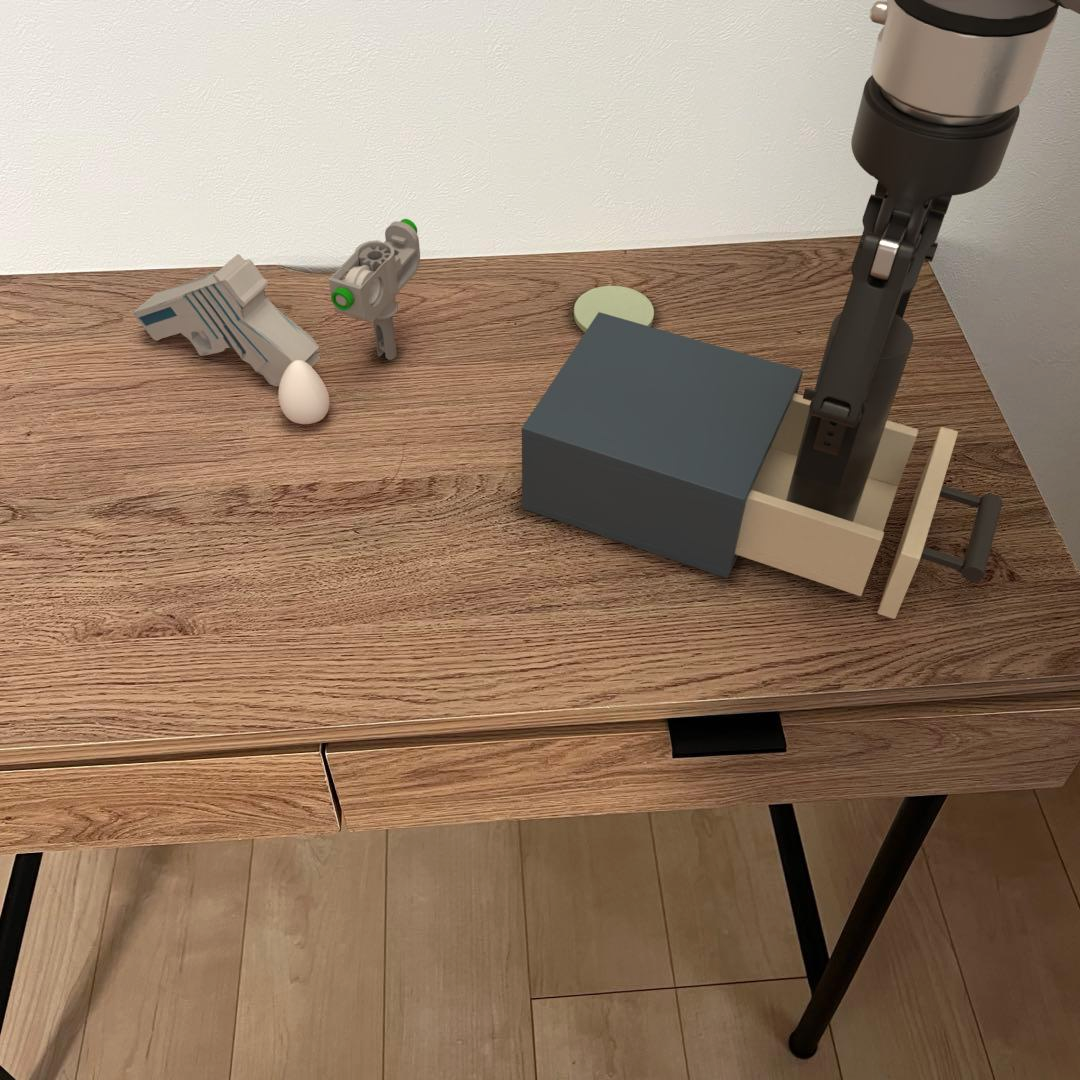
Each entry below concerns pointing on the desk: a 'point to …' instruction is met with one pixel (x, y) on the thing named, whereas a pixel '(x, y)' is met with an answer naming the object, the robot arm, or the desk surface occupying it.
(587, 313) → the coaster
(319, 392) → the egg
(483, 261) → the desk surface
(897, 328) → the dark brown cylinder
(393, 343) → the mechanical component
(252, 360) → the toy gun
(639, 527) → the cabinet
